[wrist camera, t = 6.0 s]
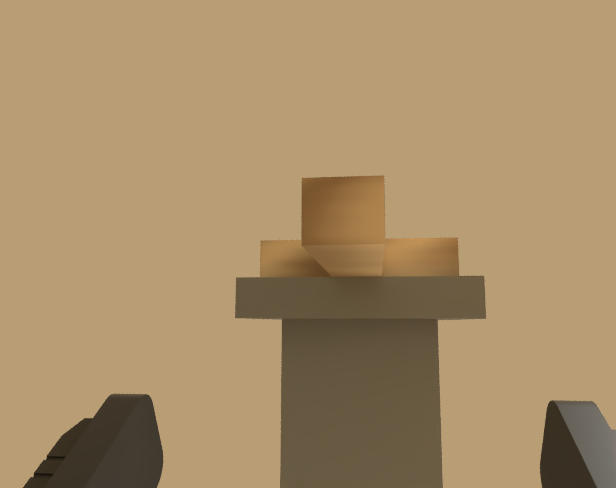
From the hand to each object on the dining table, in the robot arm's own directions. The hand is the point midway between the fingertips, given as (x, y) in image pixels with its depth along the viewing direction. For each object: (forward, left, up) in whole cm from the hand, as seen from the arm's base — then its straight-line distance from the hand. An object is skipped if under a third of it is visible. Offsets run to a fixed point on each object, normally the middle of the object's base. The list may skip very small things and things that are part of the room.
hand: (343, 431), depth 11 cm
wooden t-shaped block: (0, +15, +4) cm, 15 cm away
